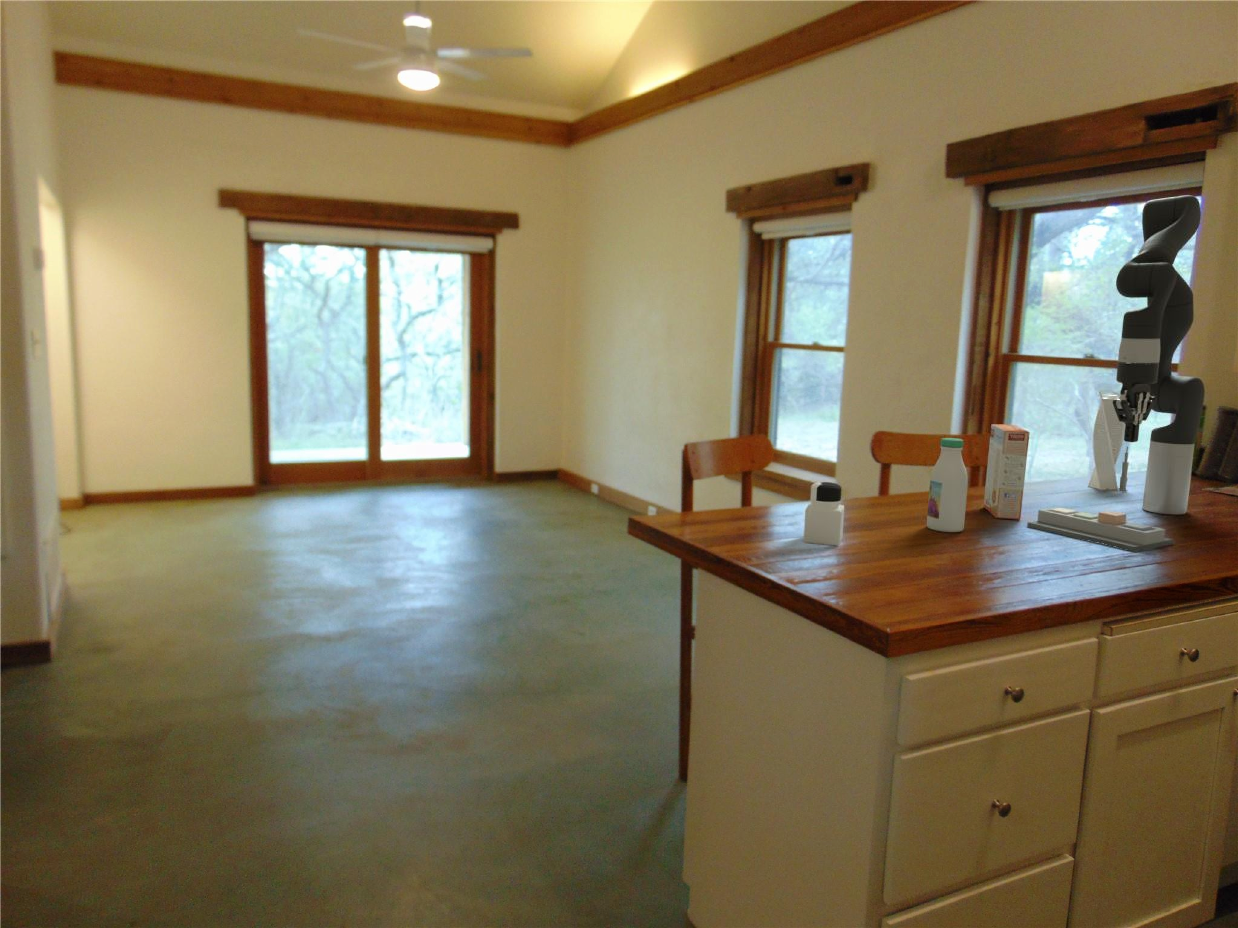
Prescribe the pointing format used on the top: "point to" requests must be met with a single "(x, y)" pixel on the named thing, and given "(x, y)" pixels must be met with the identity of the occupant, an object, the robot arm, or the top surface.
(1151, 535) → the keypad
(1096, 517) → the key sage
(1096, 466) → the skyscraper
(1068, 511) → the key ivory
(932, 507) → the milk bottle
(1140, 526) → the key slate
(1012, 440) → the cracker box
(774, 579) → the top surface
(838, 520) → the medicine bottle
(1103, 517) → the block
